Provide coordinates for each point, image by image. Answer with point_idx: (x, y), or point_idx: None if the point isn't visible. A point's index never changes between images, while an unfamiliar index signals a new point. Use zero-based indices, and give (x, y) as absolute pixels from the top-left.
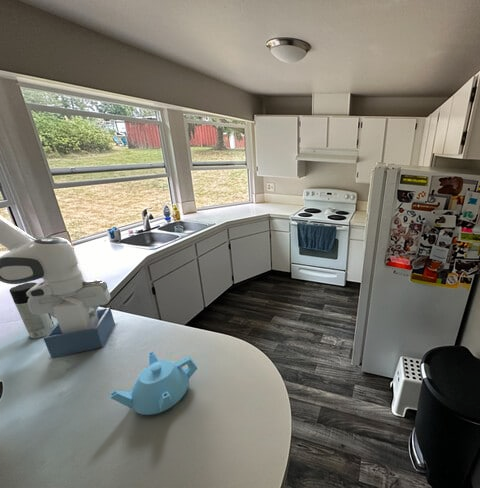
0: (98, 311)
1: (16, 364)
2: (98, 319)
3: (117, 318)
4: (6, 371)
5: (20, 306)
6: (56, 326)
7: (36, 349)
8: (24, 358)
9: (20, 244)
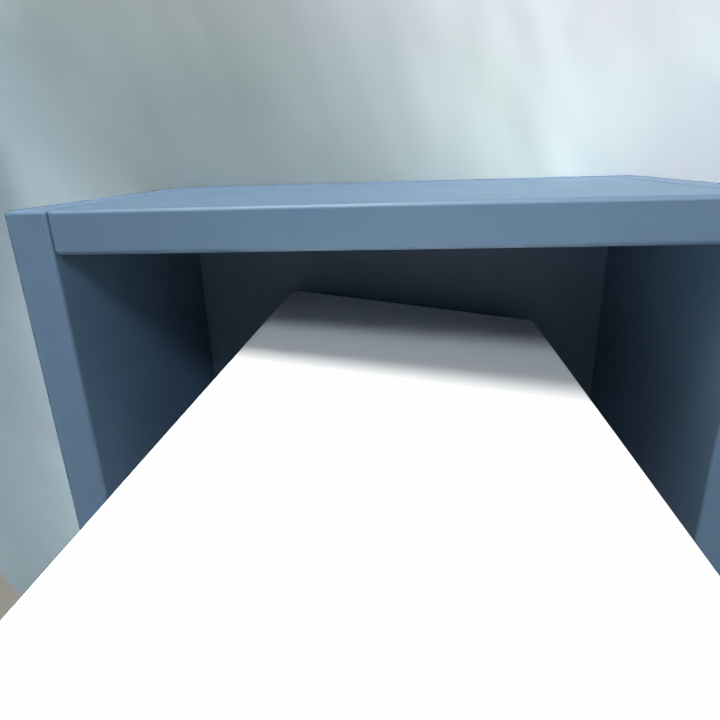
0: (576, 240)
1: (19, 529)
2: (569, 373)
3: (639, 2)
4: (12, 579)
5: None
6: None
7: (29, 387)
8: (23, 478)
9: None
